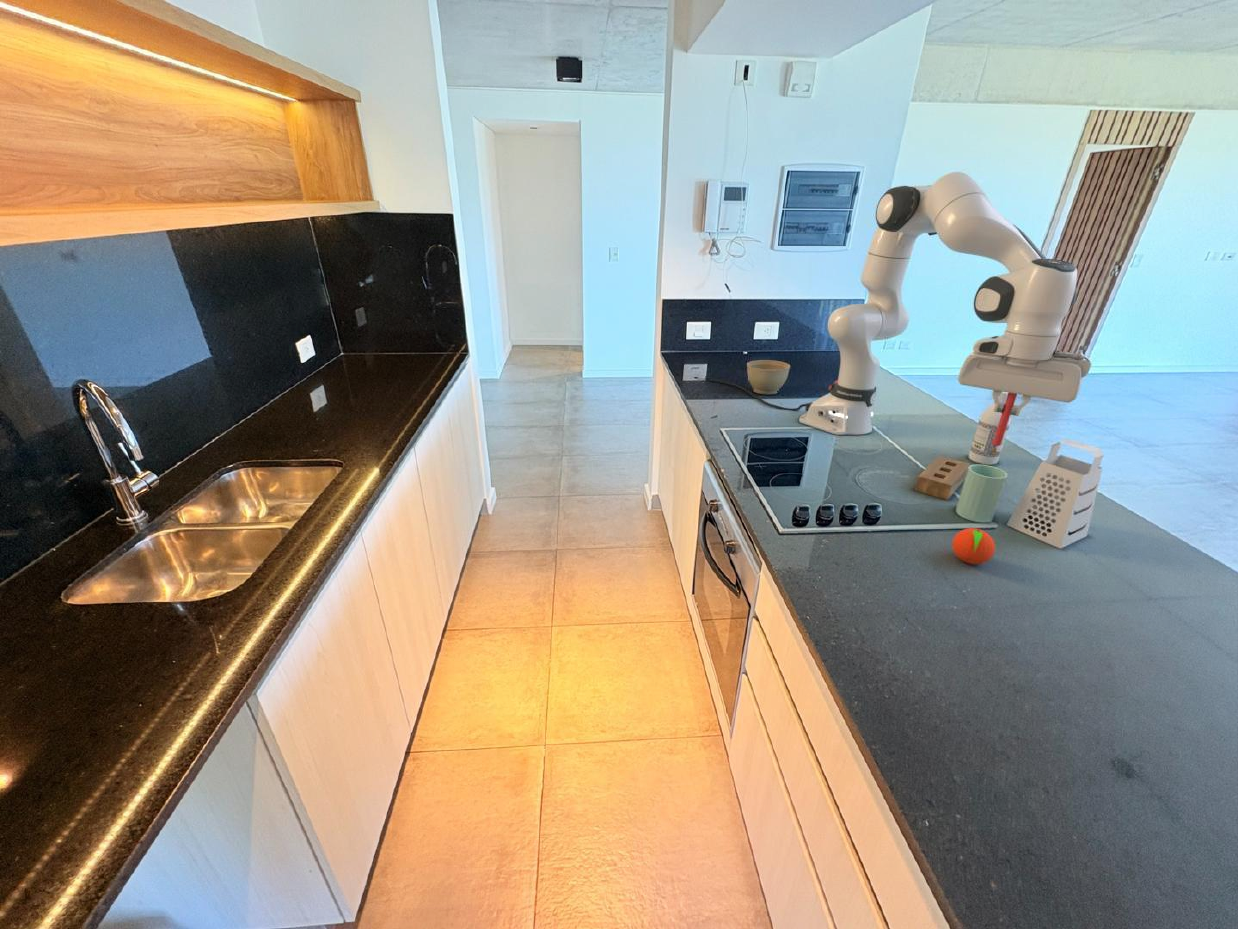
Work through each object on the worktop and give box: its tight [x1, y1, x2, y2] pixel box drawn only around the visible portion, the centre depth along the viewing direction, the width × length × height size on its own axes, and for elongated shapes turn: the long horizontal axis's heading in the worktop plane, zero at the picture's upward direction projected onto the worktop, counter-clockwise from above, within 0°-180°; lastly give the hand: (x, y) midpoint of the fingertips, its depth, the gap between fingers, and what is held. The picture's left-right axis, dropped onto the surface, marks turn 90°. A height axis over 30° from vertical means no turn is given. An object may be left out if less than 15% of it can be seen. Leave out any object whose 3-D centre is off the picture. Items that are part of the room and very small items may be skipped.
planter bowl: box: [746, 359, 791, 395], centre depth 206 cm, size 16×16×11 cm
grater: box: [1006, 438, 1105, 549], centre depth 110 cm, size 10×10×20 cm
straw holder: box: [914, 455, 972, 501], centre depth 134 cm, size 7×17×4 cm, turn 136°
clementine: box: [951, 527, 996, 565], centre depth 102 cm, size 8×7×7 cm
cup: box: [955, 463, 1009, 524], centre depth 118 cm, size 7×7×11 cm
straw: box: [992, 393, 1018, 446], centre depth 111 cm, size 2×2×14 cm
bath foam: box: [968, 392, 1012, 466], centre depth 144 cm, size 7×7×20 cm
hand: (1006, 413), depth 111 cm, fingers closed on straw, 1 cm apart
